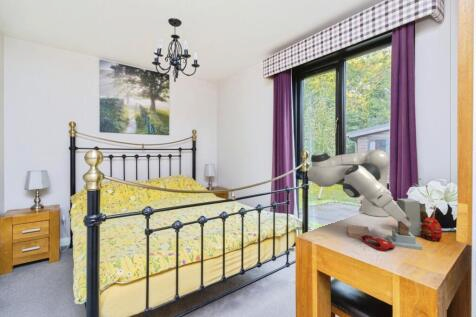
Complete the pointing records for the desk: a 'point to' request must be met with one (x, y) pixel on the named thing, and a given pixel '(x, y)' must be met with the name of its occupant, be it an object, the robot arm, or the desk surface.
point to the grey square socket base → (403, 241)
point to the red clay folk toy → (431, 228)
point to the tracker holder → (382, 242)
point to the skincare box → (411, 214)
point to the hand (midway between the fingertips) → (405, 221)
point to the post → (403, 228)
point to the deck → (357, 231)
